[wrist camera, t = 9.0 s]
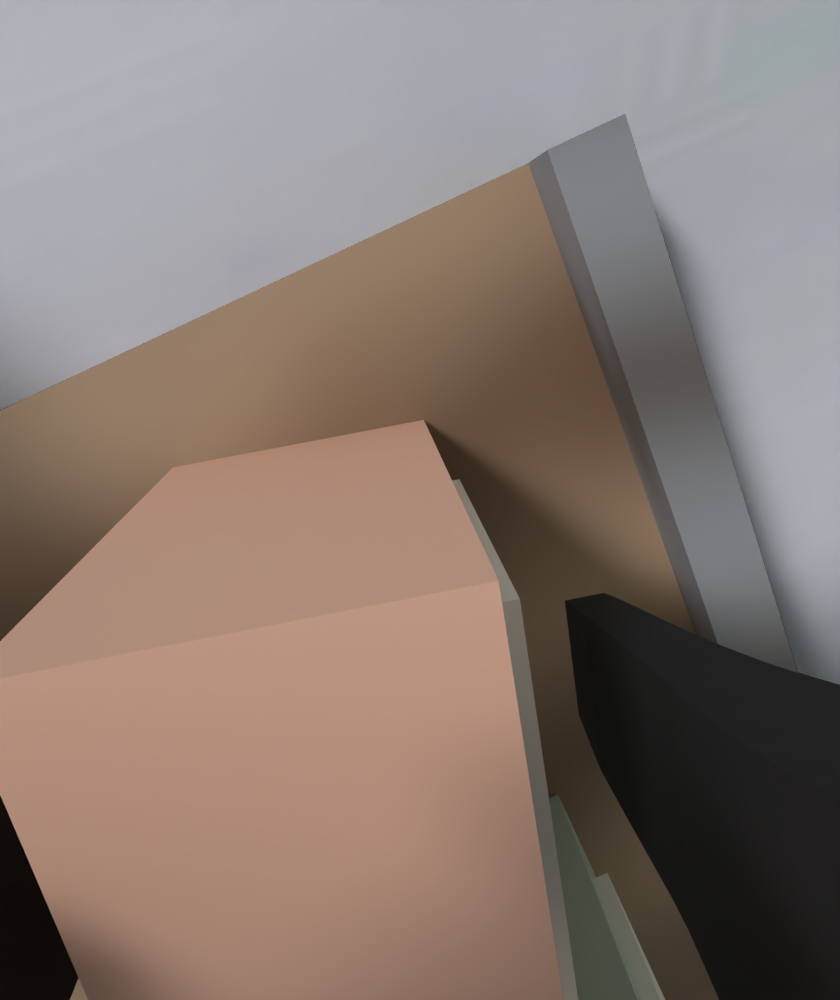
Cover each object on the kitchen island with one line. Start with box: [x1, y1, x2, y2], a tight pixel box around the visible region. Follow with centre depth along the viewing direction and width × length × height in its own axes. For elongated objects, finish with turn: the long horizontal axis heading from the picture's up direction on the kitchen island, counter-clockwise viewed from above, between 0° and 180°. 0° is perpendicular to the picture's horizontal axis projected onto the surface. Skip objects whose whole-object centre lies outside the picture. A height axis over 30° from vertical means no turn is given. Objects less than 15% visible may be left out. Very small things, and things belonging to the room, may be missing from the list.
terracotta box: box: [0, 420, 578, 1000], centre depth 10 cm, size 5×7×7 cm
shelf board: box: [0, 114, 798, 1000], centre depth 15 cm, size 20×18×2 cm
